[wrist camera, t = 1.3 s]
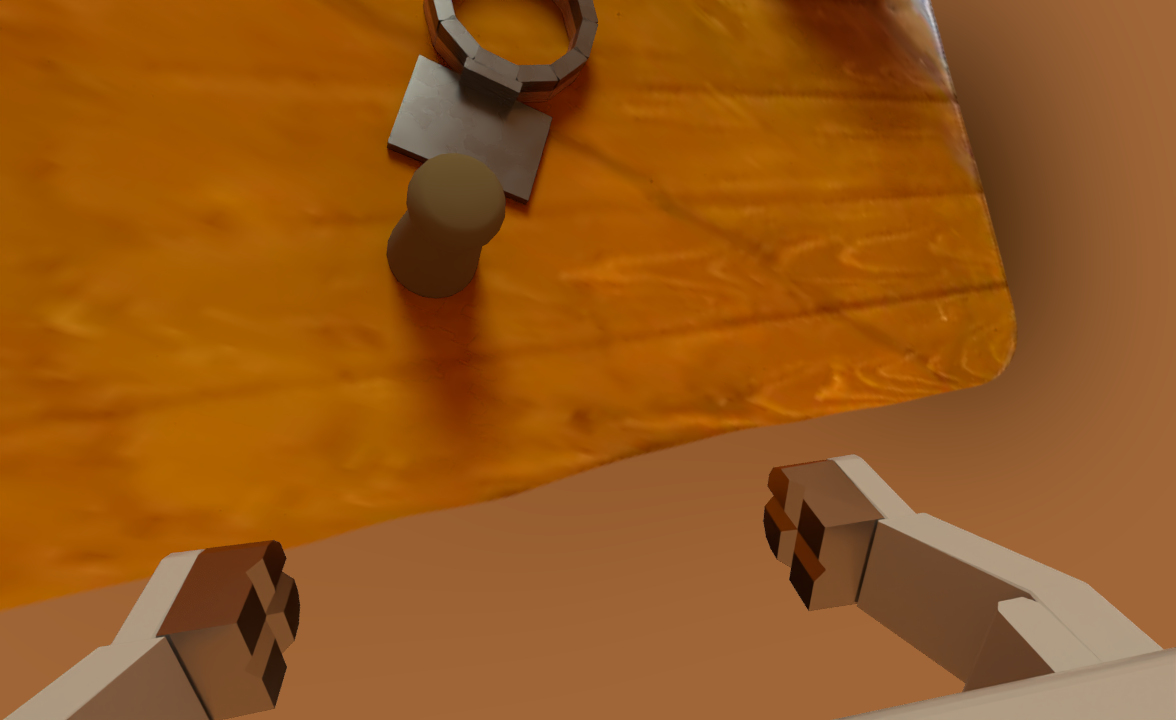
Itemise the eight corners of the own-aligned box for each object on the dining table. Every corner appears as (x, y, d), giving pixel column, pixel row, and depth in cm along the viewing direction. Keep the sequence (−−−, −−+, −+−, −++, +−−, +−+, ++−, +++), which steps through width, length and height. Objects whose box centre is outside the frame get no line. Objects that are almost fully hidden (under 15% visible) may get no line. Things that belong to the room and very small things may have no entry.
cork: (457, 201, 42) (493, 123, 32) (491, 282, 42) (537, 229, 32) (371, 225, 40) (381, 148, 30) (408, 310, 40) (430, 263, 30)
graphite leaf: (372, 141, 40) (373, 120, 38) (453, -78, 45) (459, -111, 42) (537, 209, 44) (549, 195, 42) (597, 1, 49) (611, -24, 46)
